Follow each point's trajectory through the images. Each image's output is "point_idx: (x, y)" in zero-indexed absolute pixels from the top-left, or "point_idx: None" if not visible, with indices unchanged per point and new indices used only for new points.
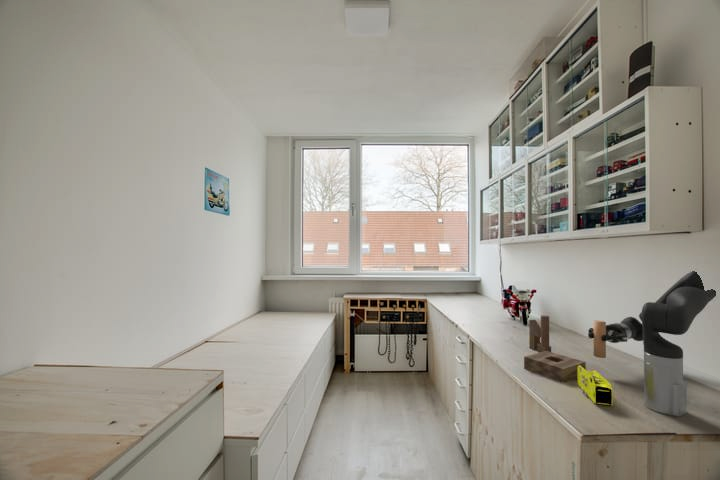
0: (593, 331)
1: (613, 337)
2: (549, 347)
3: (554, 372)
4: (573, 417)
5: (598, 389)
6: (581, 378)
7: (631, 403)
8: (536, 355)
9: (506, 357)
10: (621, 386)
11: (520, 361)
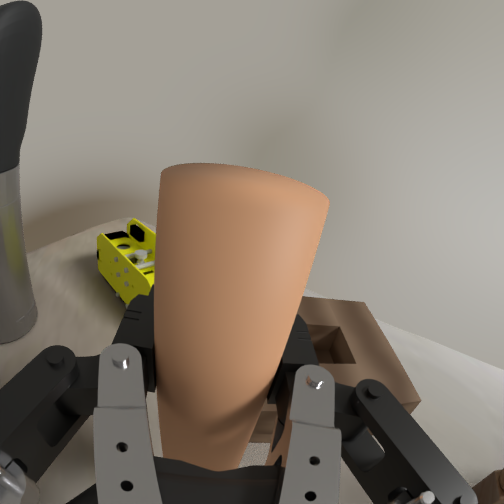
0: (314, 370)
1: (79, 363)
2: (495, 491)
3: None
4: None
5: (122, 236)
6: None
7: (63, 307)
8: (369, 331)
9: (437, 359)
10: None
11: (406, 366)
